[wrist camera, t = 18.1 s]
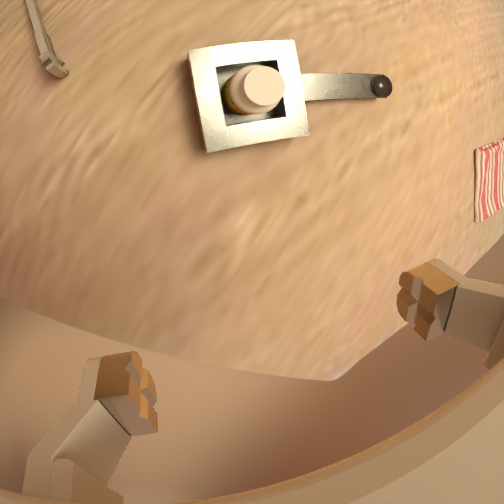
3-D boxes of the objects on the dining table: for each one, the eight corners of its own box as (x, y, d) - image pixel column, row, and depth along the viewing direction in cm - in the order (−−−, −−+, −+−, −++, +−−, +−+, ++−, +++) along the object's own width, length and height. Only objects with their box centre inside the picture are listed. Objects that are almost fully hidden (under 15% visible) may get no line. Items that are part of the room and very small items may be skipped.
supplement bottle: (211, 89, 31) (224, 77, 23) (248, 66, 31) (272, 49, 22) (236, 123, 34) (257, 124, 25) (271, 101, 34) (302, 95, 25)
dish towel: (513, 194, 55) (523, 198, 52) (471, 221, 53) (482, 226, 50) (513, 133, 47) (523, 136, 44) (470, 148, 45) (482, 151, 42)
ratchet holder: (203, 149, 35) (207, 153, 31) (186, 59, 29) (188, 50, 25) (382, 125, 39) (401, 127, 35) (372, 50, 33) (391, 46, 29)
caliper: (70, 74, 26) (52, 66, 21) (64, 79, 26) (44, 72, 21) (30, -18, 17) (13, -33, 11) (24, -14, 17) (6, -27, 11)
